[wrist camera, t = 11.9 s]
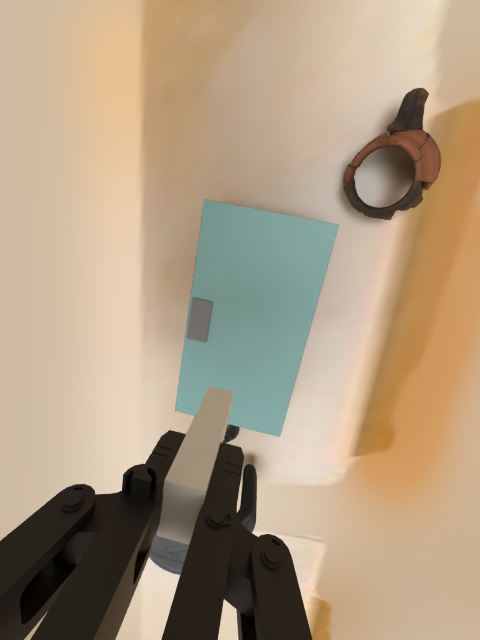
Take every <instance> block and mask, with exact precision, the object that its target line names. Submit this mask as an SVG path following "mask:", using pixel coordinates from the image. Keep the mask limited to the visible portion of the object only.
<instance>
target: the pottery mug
mask: <svg viewBox="0 0 480 640" xmlns="http://www.w3.org/2000/svg"><path fill="white" fill-rule="evenodd" d="M428 95H429V93H428V92H427V91H426V90H425V89H423V88H416V89H413V90H412V91H410V92H408V93H407V94H406V95H405V97H404V99H403V101H402V104H401V106H400V109H399V112H398V115H397V117H396V119H395V121H394V122H393V123H392V124H391V125H389V126H388V127H387V130H388V131H389V132H390V136H387V135H386V133H384V134H382V135H380V136H378V137H377V138H375V139H374V140H373V141H371V142H369V143H368V144H367V145H366V146H365V147H364V148H363V149H362V150H361V151H360V152H359V153H358V154H357V155H356V156H355V158H354V159H353V161H352V163H351V165H350V164H349V165H348V166H347V169H346V172H345V177H344V183H345V185H344V190H345V193H346V196H347V198H348V200H349V202H350V203H351V205H352V206H353V207H354V208H355V209H356V210H357V211H358V212H360V213H361V212H362V213H363V214H364V215H365V216H368V217H372V218H379V219H384V220H391V218H392V216H393V215H394V213H395V211H397V210H401V211H404V210H408V209H410V208H414V207H416V206H417V205H419V204H420V203H421V201H422V200H423V197H422V191H421V182H424V184H423V186H422V187H423V188H425V190H428V189H429V188H430V186H431V185H432V184H433V183H434V181H435V180H436V179H437V177H438V174H439V171H440V166H441V155H440V151H439V148H438V146H437V144H436V142H435V141H434V139H433V138H432V137H431V135H430V134H428V133H426V132H425V131H424V130H423V125H422V124H423V114H424V105H425V102H426V99H427V97H428ZM387 146H394V147H398V148H401V149H403V150H404V151H406V152H407V153H408V154H409V155H410V157H411V159H412V161H413V164H414V179H413V183H412V185H411V187H410V189H409V191H408V192H407V194H406V195H405V196H404V197H403V198H402V199H401V200H399V201H398V202H397V203H395V204H393V205H391V206H388V207H383V208H376V207H371V206H369V205H367V204H365V203H364V202H363V201H362V200H361V199H360V197H359V196H358V194H357V191H356V188H355V179H354V175H355V171H356V169H357V167H359V166H360V164H361V163H362V162H363V160H364V159H365V158H366V157H367V156H368V155H369V154H370V153H372V152H373V151H375V150H377V149H380V148H383V147H387Z"/></svg>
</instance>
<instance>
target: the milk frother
mask: <svg viewBox="0 0 480 640" xmlns="http://www.w3.org/2000/svg"><path fill="white" fill-rule="evenodd" d="M229 426H230V430H229V431H227V432H226V433H225V437H224V439H225V441H223V443H227V442H229V441H231V440H233V439H235V438H236V436H237V435H238V433H239V427H238V426H234V425H230V424H229ZM256 499H257V475H256V470H255V467H254V466H253V465H251V464H248V465H246V466H245V468H244V473H243V484H242V495H241V506H240V510H239V511H238V513H237V516H238V518H239V520H240V522H241V524H242V525H243V526H244V527H245V528H246V529H247V530H248V531H249V532H251V533H252V532H253V529H254V526H255V523H256ZM157 531H158V529H157ZM188 547H189V545H187V544H184V543H180V542H177V541H173V540H170V539H166V538H163V537H159V536H157V532H156V534H155V536H154V539H153V541H152V548H151V552H150V555H149V557H150V559H151V560H152V561H153V562H154V563H155V564H156V565H158V566H159V567H161V568H162V569H164V570H166V571H168V572H171V573H173V574H177V575H181V571H182V568H183V565H184V561H185V558H186V554H187V551H188Z"/></svg>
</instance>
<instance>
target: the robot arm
mask: <svg viewBox="0 0 480 640" xmlns="http://www.w3.org/2000/svg"><path fill="white" fill-rule="evenodd" d="M233 395H234V392H231V391H227V390H223V389H219V388H215V387H210V386H209V387H208V390H207V392H206V394H205V396H204V398H203V400H202V402H201V404H200V406H199V409H198V411H197V413H196V415H195V417H194V419H193V421H192V423H191V425H190V428H189V430H188V432H187V434H183V433H179V432H175V431H171V430H169V431H168V432H167V433H165V434H164V435H163V436H161V438H160V440H159V441H158V443H157V445H156V446H155V448H154V450H153V451H152V454H151V455H150V456H149V458H148V460H147V461H146V463H145V464H140V465H135V466H133V467H131V468H130V469H128V470H127V471H126V472H125V473H124V474H123V485H122V491H120V492H118V493H112V494H97V495H95V490H94V489H93V488H92V487H91V486H88V485H85V484H76V485H73V486H70V487H67V488H66V489H64V490H62V491H61V492H59V493H58V494H57V495H56V496H55V497H53V498H52V499H51V500H50V501H48V502H47V503H46V504H45V505H44V506H42V507H41V508H40V509H39V510H38V511H36V512H35V513H34V514H33V515H32V516H30V517H29V518H28V519H26V521H24V522H23V523H22V524H21V525H19V526H18V527H17V528H16V529H14V530H13V531H12V532H11V533H9V534H8V535H7V536H6V537H5V538H3V539H2V540H1V541H0V640H24V639H25V638H26V636H27V635H28V634H29V633H30V632H31V630H32V629H33V628H34V627H35V625H37V623H38V622H39V621H40V620H41V619H42V617H43V616H44V615H45V614H46V612H47V611H48V610H49V611H48V612H47V614H46V616H45V617H44V619H43V620H42V622H41V624H40V625H39V627H38V628H37V630H36V632H35V633H34V635H33V636H32V638H31V640H115V639H116V636H117V634H118V631H119V629H120V627H121V624H122V622H123V619H124V617H125V614H126V612H127V609H128V607H129V604H130V602H131V599H132V597H133V595H134V592H135V590H136V587H137V585H138V582H139V580H140V577H141V575H142V572H143V570H144V567H145V565H146V562H147V560H148V558H149V555H150V552H151V548H152V541H153V539H154V536H155V534H156V532H157V536H159V537H163V538H166V539H170V540H173V541H177V542H180V543H184V544H187V545H189V547H188V551H187V554H186V558H185V561H184V565H183V568H182V571H181V575H180V578H179V582H178V585H177V589H176V592H175V595H174V599H173V602H172V606H171V609H170V613H169V616H168V619H167V623H166V626H165V630H164V633H163V636H162V640H218V634H219V627H220V620H221V614H222V607H223V600H224V599H225V600H226V601H227V602H228V603H230V604H231V605H232V606H233V607H235V608H236V609H237V623H238V637H239V640H312V636H311V632H310V628H309V624H308V620H307V616H306V612H305V608H304V604H303V600H302V596H301V592H300V588H299V584H298V580H297V576H296V572H295V568H294V564H293V560H292V556H291V554H290V552H289V549H288V547H287V546H286V545H285V543H284V542H283V541H282V540H281V539H279V538H278V537H276V536H274V535H270V534H265V535H261V536H259V537H257V536H255V535H254V534H252V533H251V532H249V531H248V530H247V529H246V528H245V527H244V526H243V525H242V524H241V522H240V520H239V518H238V516H237V511H236V510H237V500H238V493H239V486H240V480H241V473H242V466H243V460H244V455H243V452H242V449H241V447H237V446H233V445H229V444H225V443H223V440H224V437H225V433H226V429H227V424H228V419H229V414H230V409H231V405H232V400H233ZM157 529H158V531H157Z"/></svg>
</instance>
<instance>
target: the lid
mask: <svg viewBox="0 0 480 640" xmlns="http://www.w3.org/2000/svg"><path fill="white" fill-rule="evenodd" d="M338 226H339V225H338V224H333V223H328V222H322V221H317V220H312V219H306V218H301V217H296V216H290V215H285V214H280V213H275V212H269V211H264V210H259V209H253V208H248V207H243V206H237V205H232V204H227V203H221V202H216V201H211V200H205V199H204V203H203V211H202V218H201V225H200V232H199V240H198V247H197V254H196V261H195V269H194V276H193V283H192V290H191V297H190V305H189V312H188V319H187V326H186V334H185V341H184V348H183V355H182V363H181V370H180V377H179V384H178V392H177V399H176V406H175V411H177V412H181V413H185V414H189V415H194V416H195V415H196V413H197V411H198V409H199V406H200V404H201V402H202V400H203V398H204V396H205V394H206V392H207V390H208V387H209V386H210V387H215V388H219V389H223V390H227V391H231V392H234V395H233V400H232V405H231V409H230V414H229V419H228V424H230V425H234V426H238V427H242V428H246V429H250V430H254V431H258V432H262V433H266V434H270V435H274V436H279V437H280V435H281V431H282V427H283V424H284V420H285V417H286V413H287V409H288V406H289V402H290V399H291V395H292V391H293V388H294V384H295V381H296V377H297V374H298V370H299V366H300V363H301V359H302V356H303V352H304V348H305V345H306V341H307V338H308V334H309V330H310V327H311V323H312V320H313V316H314V312H315V309H316V305H317V302H318V298H319V295H320V291H321V287H322V284H323V280H324V277H325V273H326V269H327V266H328V262H329V259H330V255H331V251H332V248H333V244H334V241H335V237H336V233H337V230H338Z"/></svg>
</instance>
